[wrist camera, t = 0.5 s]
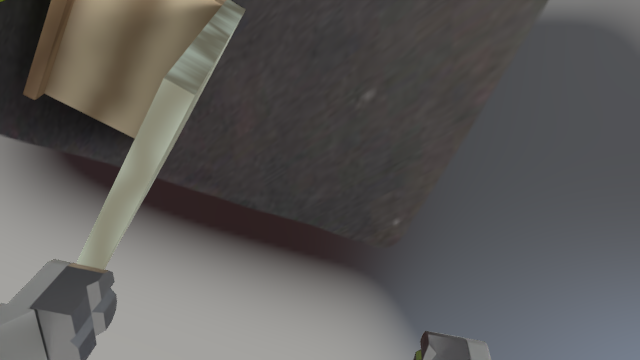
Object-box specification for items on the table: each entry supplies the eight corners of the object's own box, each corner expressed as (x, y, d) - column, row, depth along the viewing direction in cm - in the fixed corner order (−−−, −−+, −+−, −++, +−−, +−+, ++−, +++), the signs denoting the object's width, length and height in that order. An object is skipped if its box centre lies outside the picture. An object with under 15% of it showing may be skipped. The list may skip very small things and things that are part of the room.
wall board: (46, 77, 50) (-114, 191, 31) (98, -83, 42) (-79, -55, 23) (175, 142, 54) (100, 276, 36) (245, 9, 46) (195, 95, 28)
